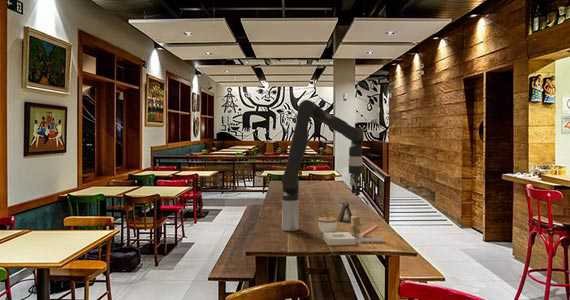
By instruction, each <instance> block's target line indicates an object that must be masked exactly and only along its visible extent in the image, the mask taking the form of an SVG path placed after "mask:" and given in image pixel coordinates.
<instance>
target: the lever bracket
mask: <svg viewBox="0 0 570 300" xmlns="http://www.w3.org/2000/svg"><path fill="white" fill-rule="evenodd" d="M360 234H361V232H360V233H356V236H355V237H354V238H355V239H356V243H358V244H362V243H385V239H384V238H382V237H363V236H359V238H358V235H360Z"/></svg>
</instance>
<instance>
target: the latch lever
mask: <svg viewBox="0 0 570 300" xmlns="http://www.w3.org/2000/svg"><path fill="white" fill-rule="evenodd" d="M379 228H380V226H379V225H378V224H375V225H373V226H371V227H370V228H368V229H367V230H364V231H363V232H362V233H361V232H360V235H358V238H359V236H363V238H366V236H369V234H371V233H373V232H374V231H376V230H378V229H379Z"/></svg>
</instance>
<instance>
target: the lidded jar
mask: <svg viewBox="0 0 570 300" xmlns="http://www.w3.org/2000/svg"><path fill="white" fill-rule="evenodd" d="M317 220H318V221H317V222H318V223H317V224H318V229H319V230H320V232H321V233H322V234H323V233H335V231H336V230H337V227H338V217H337V218H336V217H333V216H330V215H327V216H324V217H323V216H322V217H321V216H320V217H319V218H317Z"/></svg>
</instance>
